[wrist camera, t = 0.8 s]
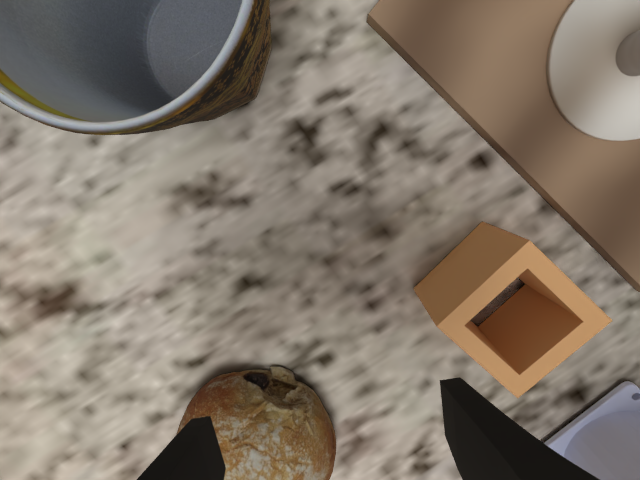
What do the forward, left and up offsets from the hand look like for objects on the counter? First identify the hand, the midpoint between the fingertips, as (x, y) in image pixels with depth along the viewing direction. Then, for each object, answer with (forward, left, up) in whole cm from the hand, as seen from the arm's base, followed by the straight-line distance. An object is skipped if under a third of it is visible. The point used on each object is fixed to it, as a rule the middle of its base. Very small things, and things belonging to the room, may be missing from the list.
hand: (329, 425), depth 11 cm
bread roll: (-3, +11, -11) cm, 16 cm away
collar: (-6, -6, -11) cm, 14 cm away
